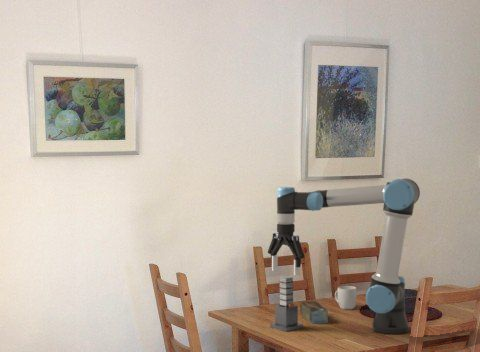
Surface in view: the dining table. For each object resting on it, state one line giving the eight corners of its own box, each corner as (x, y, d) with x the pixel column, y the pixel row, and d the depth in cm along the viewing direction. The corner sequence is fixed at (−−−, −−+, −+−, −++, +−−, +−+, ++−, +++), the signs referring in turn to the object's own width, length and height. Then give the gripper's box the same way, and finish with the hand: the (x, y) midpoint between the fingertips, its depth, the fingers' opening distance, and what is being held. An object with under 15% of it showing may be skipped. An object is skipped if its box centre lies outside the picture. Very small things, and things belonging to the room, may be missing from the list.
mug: (360, 308, 344) (360, 287, 344) (346, 311, 339) (346, 290, 338) (342, 304, 354) (342, 284, 354) (328, 306, 349) (328, 286, 349)
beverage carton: (310, 324, 314) (310, 309, 314) (299, 315, 333) (299, 300, 332) (328, 323, 315) (328, 308, 315) (316, 314, 334) (315, 300, 334)
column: (293, 323, 307) (293, 277, 307) (286, 325, 305) (286, 278, 304) (286, 321, 311) (286, 276, 310) (279, 323, 308) (279, 277, 307)
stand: (303, 327, 307) (302, 302, 307) (286, 331, 301) (286, 306, 300) (286, 323, 315) (286, 299, 314) (270, 327, 308) (269, 302, 308)
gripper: (312, 224, 299) (312, 275, 300) (272, 220, 318) (272, 268, 319) (300, 226, 294) (299, 277, 295) (259, 221, 313) (259, 269, 314)
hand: (285, 272), depth 307 cm, fingers open, 13 cm apart
